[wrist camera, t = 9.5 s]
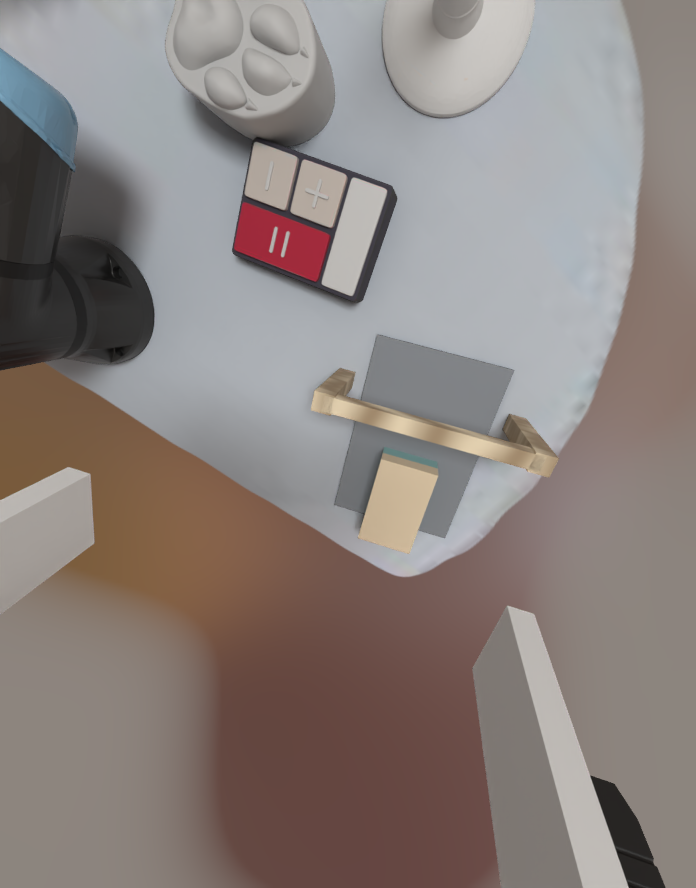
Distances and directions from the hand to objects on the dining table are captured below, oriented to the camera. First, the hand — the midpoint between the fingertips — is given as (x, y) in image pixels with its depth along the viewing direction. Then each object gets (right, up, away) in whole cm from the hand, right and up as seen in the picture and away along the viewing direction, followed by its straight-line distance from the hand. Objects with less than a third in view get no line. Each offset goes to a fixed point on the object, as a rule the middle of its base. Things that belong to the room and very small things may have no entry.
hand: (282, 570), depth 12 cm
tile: (+8, -4, +35) cm, 37 cm away
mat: (+10, +4, +36) cm, 38 cm away
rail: (+12, +9, +34) cm, 37 cm away
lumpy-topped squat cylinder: (-5, +40, +26) cm, 48 cm away
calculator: (-2, +28, +30) cm, 41 cm away
